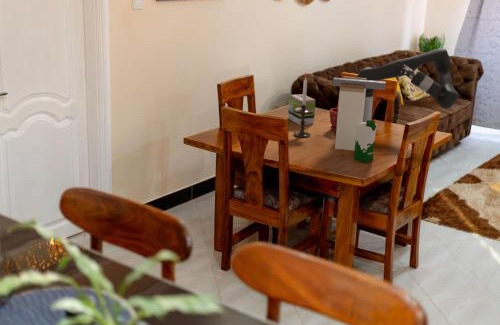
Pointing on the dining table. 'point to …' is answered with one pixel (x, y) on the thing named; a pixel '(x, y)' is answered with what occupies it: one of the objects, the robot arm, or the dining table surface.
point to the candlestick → (303, 113)
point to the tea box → (296, 102)
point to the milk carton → (365, 141)
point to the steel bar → (360, 83)
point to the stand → (349, 114)
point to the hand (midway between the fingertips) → (396, 63)
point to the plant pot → (334, 120)
